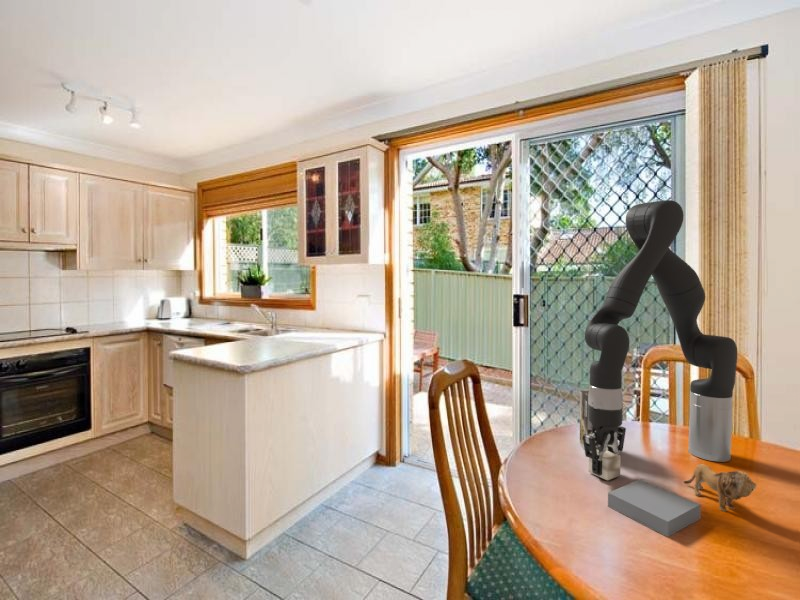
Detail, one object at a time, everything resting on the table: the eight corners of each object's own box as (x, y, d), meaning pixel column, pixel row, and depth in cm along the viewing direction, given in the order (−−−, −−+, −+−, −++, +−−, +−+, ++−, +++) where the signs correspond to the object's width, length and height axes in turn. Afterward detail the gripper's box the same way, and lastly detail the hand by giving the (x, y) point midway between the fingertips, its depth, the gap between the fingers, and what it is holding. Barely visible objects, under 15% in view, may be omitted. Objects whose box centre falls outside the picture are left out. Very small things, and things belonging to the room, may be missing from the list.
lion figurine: (760, 518, 82) (761, 474, 81) (740, 522, 80) (741, 478, 80) (692, 483, 96) (693, 446, 95) (674, 486, 95) (675, 448, 94)
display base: (640, 491, 92) (640, 479, 92) (700, 518, 81) (700, 504, 81) (607, 506, 86) (608, 492, 86) (667, 537, 76) (667, 521, 75)
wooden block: (601, 467, 103) (601, 448, 103) (620, 475, 99) (620, 455, 99) (588, 472, 101) (589, 452, 101) (607, 480, 96) (607, 460, 96)
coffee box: (611, 457, 110) (612, 399, 109) (586, 455, 111) (587, 398, 111) (602, 444, 119) (602, 390, 118) (578, 442, 120) (579, 389, 120)
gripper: (608, 395, 106) (608, 459, 107) (572, 404, 99) (572, 472, 100) (637, 403, 99) (636, 470, 100) (600, 413, 92) (599, 485, 93)
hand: (604, 471), depth 100 cm, fingers closed on wooden block, 5 cm apart
